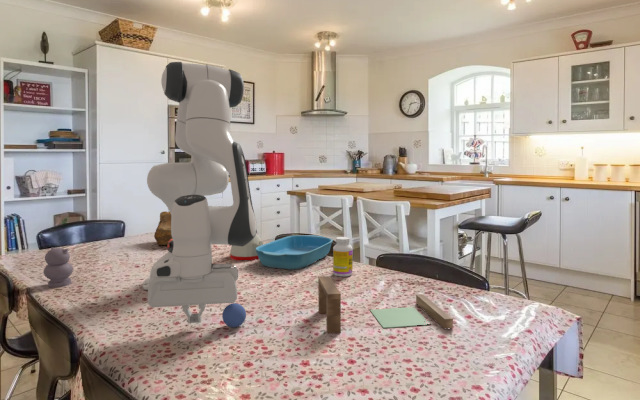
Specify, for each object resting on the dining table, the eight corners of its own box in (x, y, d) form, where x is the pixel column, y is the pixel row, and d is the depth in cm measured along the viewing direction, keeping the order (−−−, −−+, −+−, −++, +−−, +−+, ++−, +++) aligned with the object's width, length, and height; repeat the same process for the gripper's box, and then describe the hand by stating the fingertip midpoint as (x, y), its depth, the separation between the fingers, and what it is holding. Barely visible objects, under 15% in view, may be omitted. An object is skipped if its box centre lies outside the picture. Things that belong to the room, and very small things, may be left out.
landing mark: (383, 328, 101) (383, 327, 101) (369, 310, 113) (369, 309, 113) (431, 324, 103) (431, 324, 103) (413, 307, 115) (413, 306, 115)
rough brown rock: (142, 246, 200) (139, 215, 197) (171, 237, 213) (169, 208, 211) (174, 254, 187) (171, 221, 184) (203, 244, 201) (201, 213, 198)
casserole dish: (298, 275, 147) (298, 255, 147) (245, 268, 157) (244, 249, 156) (340, 253, 180) (340, 237, 180) (294, 249, 190) (294, 233, 189)
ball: (221, 331, 99) (221, 308, 99) (223, 322, 105) (222, 300, 104) (246, 330, 100) (245, 307, 100) (246, 321, 106) (246, 299, 105)
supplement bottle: (351, 277, 143) (351, 240, 142) (331, 276, 145) (331, 239, 143) (353, 272, 150) (353, 236, 148) (334, 271, 151) (334, 235, 150)
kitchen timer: (271, 255, 177) (270, 219, 175) (248, 262, 165) (248, 224, 164) (246, 251, 184) (245, 217, 183) (223, 258, 173) (222, 221, 171)
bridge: (327, 333, 98) (327, 294, 97) (318, 311, 113) (318, 276, 112) (340, 332, 99) (340, 293, 98) (329, 310, 113) (329, 276, 112)
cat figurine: (38, 286, 135) (35, 249, 134) (60, 279, 143) (58, 244, 141) (57, 289, 132) (55, 251, 131) (79, 282, 140) (77, 246, 138)
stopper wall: (444, 329, 100) (445, 319, 100) (416, 303, 118) (416, 294, 118) (452, 328, 100) (453, 318, 100) (422, 303, 118) (423, 294, 118)
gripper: (238, 259, 104) (239, 314, 106) (150, 263, 101) (153, 319, 103) (237, 266, 98) (238, 324, 99) (144, 270, 95) (147, 330, 96)
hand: (194, 322), depth 101 cm, fingers closed
